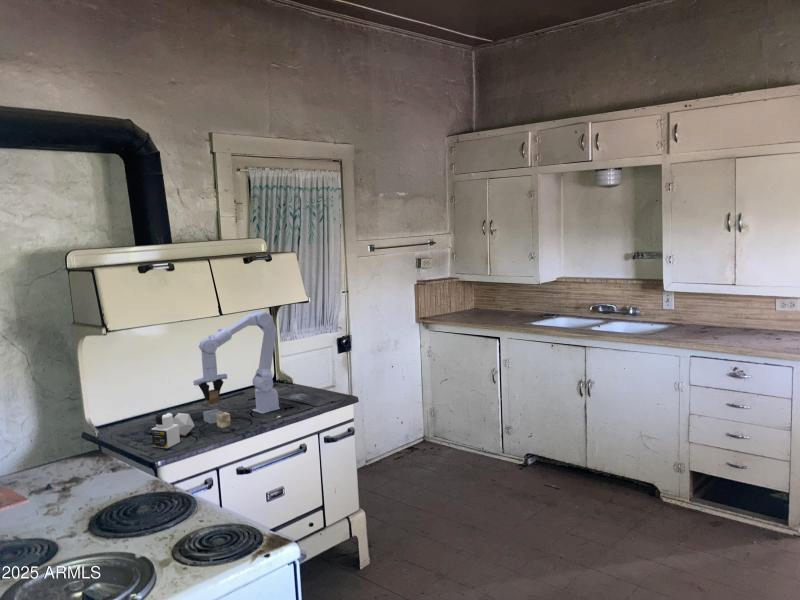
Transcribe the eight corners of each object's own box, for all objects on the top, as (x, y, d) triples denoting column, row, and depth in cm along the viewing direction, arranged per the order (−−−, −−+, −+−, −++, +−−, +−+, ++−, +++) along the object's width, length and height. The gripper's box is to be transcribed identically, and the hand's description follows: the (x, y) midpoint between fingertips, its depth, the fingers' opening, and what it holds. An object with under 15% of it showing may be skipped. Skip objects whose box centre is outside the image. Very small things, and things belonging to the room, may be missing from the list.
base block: (217, 418, 279) (216, 408, 279) (223, 420, 275) (222, 411, 274) (203, 421, 275) (203, 412, 275) (210, 424, 271) (209, 414, 270)
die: (199, 433, 261) (192, 410, 265) (190, 429, 252) (183, 405, 256) (179, 442, 260) (173, 419, 264) (170, 438, 252) (163, 414, 256)
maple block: (225, 423, 270) (224, 412, 269) (230, 425, 267) (229, 413, 266) (216, 426, 267) (216, 414, 266) (222, 428, 264) (221, 416, 264)
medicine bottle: (152, 447, 245) (149, 416, 243) (165, 440, 251) (162, 410, 250) (167, 448, 242) (164, 417, 241) (180, 442, 249) (177, 411, 247)
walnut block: (219, 402, 274) (218, 390, 273) (210, 404, 271) (209, 392, 270) (214, 400, 277) (213, 389, 276) (205, 403, 274) (204, 391, 273)
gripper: (220, 362, 280) (222, 393, 282) (188, 369, 270) (191, 401, 271) (228, 364, 275) (231, 396, 277) (197, 371, 265) (199, 403, 266)
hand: (212, 398), depth 274 cm, fingers closed on walnut block, 4 cm apart
